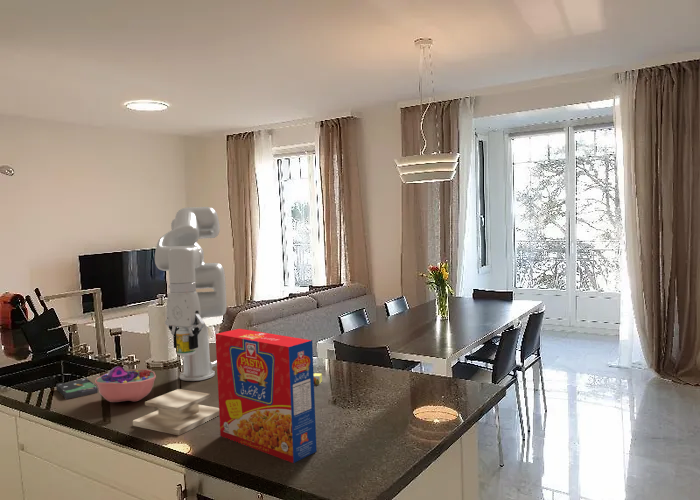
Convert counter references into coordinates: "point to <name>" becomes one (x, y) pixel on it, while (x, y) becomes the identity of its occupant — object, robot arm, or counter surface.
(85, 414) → the counter surface
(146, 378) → the cell model
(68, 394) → the disk drive
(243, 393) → the pasta box
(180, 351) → the supplement bottle
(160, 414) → the stand
